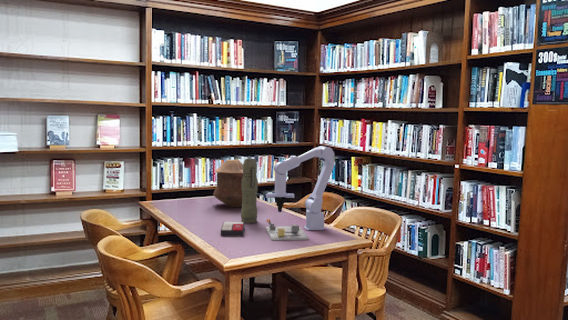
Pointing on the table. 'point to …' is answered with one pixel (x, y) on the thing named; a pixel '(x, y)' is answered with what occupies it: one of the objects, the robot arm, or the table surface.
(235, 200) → the pottery vessel
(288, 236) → the panel
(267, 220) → the toggle lever
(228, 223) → the red and grey box
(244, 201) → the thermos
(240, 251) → the table surface
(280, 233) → the slider brass
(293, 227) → the slider grey
